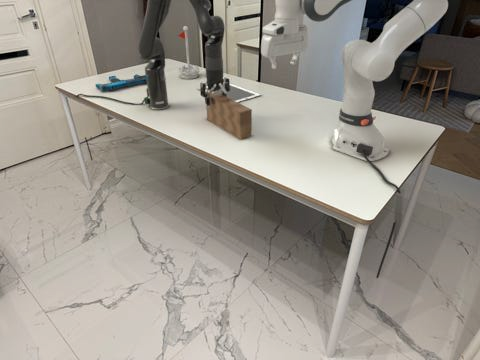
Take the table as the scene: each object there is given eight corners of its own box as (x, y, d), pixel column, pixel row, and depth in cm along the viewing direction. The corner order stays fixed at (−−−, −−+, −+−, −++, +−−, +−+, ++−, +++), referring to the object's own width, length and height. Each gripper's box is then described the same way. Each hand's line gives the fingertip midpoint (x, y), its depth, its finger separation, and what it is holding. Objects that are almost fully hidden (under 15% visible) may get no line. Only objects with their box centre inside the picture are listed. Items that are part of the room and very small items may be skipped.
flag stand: (196, 72, 226) (193, 23, 210) (202, 77, 216) (198, 27, 200) (177, 74, 223) (172, 25, 206) (181, 80, 212) (177, 28, 196)
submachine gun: (140, 69, 224) (158, 75, 207) (141, 74, 225) (159, 81, 209) (88, 79, 205) (103, 86, 188) (89, 85, 207) (105, 93, 190)
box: (251, 135, 146) (251, 109, 139) (240, 139, 143) (240, 112, 136) (217, 116, 164) (216, 92, 157) (207, 119, 161) (205, 94, 155)
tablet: (198, 89, 198) (198, 88, 197) (225, 82, 209) (225, 81, 209) (233, 103, 177) (233, 103, 177) (261, 95, 188) (261, 94, 188)
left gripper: (223, 62, 153) (224, 97, 161) (195, 68, 146) (198, 104, 154) (232, 66, 147) (233, 102, 156) (204, 71, 140) (207, 109, 149)
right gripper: (301, 22, 128) (298, 60, 135) (258, 28, 117) (257, 68, 125) (313, 24, 123) (309, 63, 131) (270, 30, 113) (268, 72, 121)
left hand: (216, 103), depth 155 cm, fingers open, 8 cm apart
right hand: (283, 66), depth 128 cm, fingers open, 8 cm apart
